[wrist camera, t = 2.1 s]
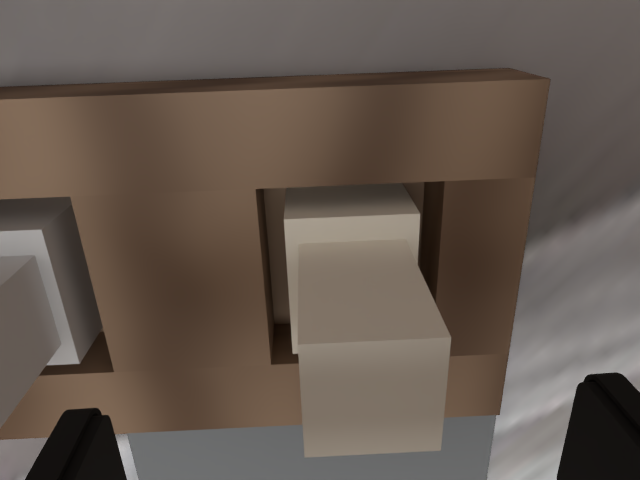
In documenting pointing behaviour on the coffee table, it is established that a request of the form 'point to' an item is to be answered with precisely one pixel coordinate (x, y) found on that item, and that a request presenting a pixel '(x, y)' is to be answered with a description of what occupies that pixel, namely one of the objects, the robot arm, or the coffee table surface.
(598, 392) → the robot arm
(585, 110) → the coffee table surface
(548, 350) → the coffee table surface
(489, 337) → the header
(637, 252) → the coffee table surface
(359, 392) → the ivory plug
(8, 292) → the grey plug
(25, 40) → the coffee table surface
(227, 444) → the mat
